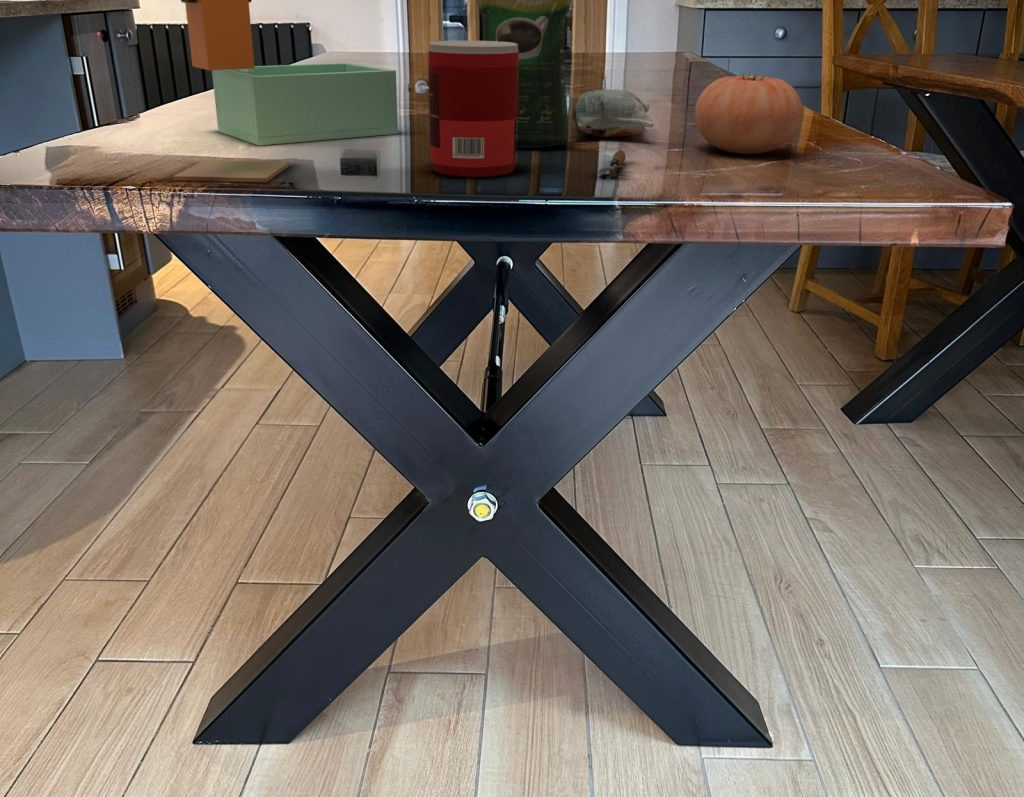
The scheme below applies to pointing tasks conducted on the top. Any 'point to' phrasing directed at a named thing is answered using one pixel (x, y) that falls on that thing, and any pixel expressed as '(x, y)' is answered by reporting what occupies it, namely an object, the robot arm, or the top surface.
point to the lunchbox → (305, 102)
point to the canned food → (473, 107)
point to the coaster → (232, 171)
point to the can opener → (615, 163)
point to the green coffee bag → (534, 64)
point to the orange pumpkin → (748, 113)
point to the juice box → (220, 34)
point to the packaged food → (611, 113)
